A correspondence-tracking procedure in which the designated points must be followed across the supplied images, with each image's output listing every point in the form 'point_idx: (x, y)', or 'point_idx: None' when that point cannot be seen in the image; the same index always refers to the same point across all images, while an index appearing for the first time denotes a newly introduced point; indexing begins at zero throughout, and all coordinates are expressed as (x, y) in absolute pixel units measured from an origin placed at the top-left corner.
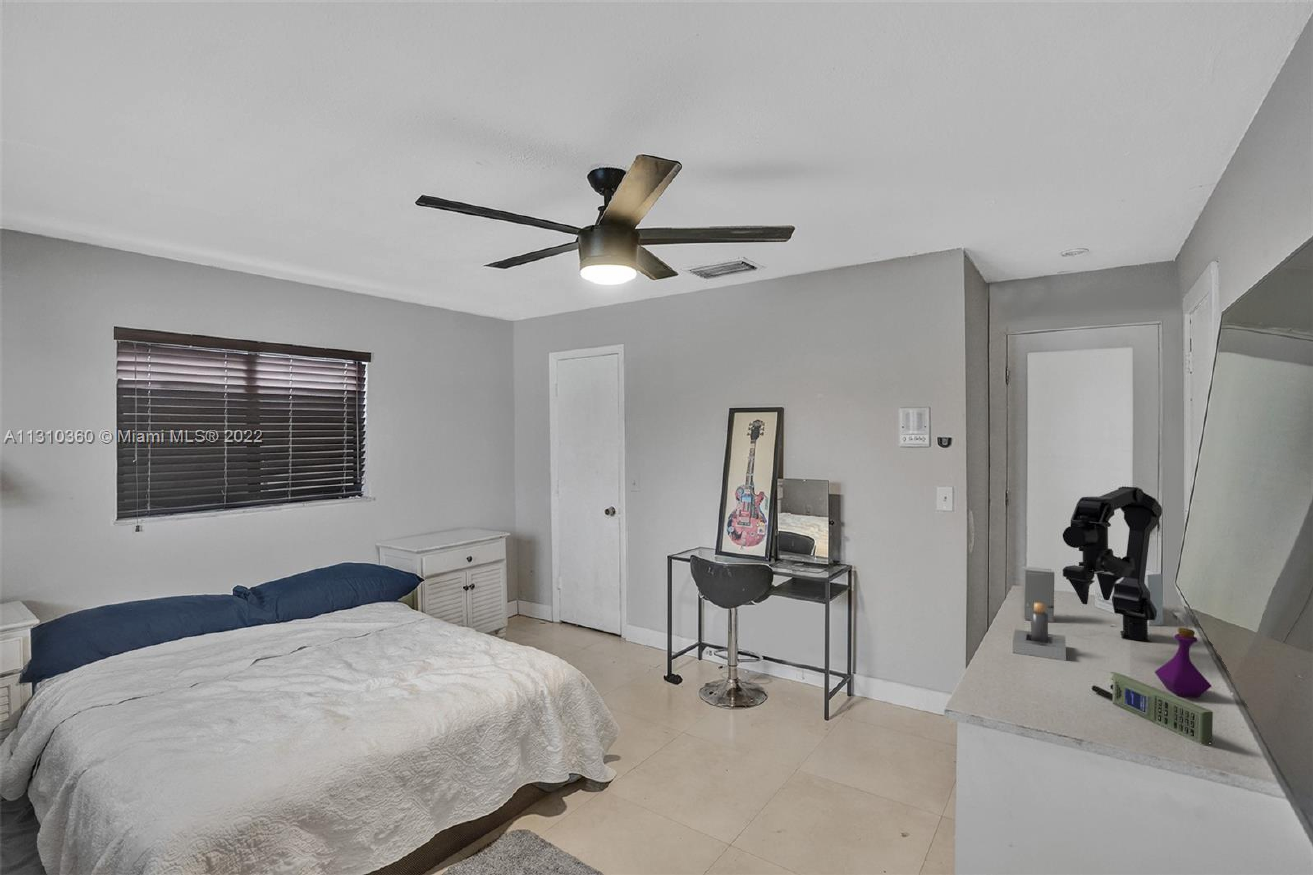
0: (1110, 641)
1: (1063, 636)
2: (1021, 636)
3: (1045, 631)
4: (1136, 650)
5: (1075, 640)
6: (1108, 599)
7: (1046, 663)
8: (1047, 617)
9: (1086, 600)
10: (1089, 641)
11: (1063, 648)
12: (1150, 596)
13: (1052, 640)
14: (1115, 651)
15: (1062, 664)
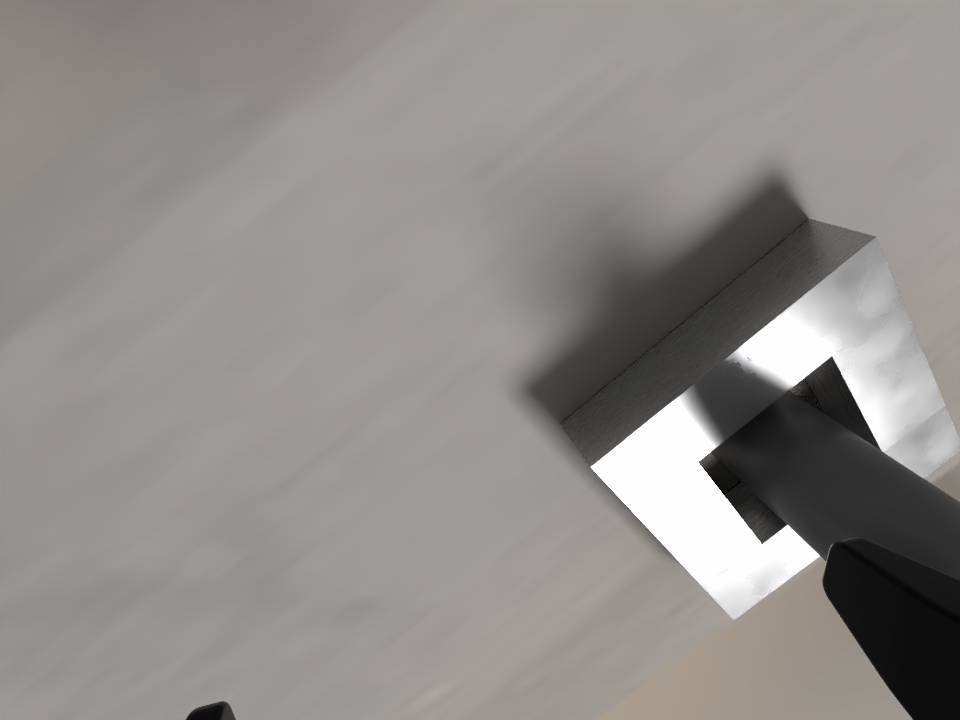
0: (105, 452)
1: (609, 463)
2: None
3: (866, 449)
4: (66, 217)
5: (365, 515)
6: (211, 716)
7: (942, 220)
8: (944, 529)
9: (941, 576)
10: (283, 482)
11: (876, 251)
12: None
13: (761, 410)
14: (294, 256)
15: (892, 171)
